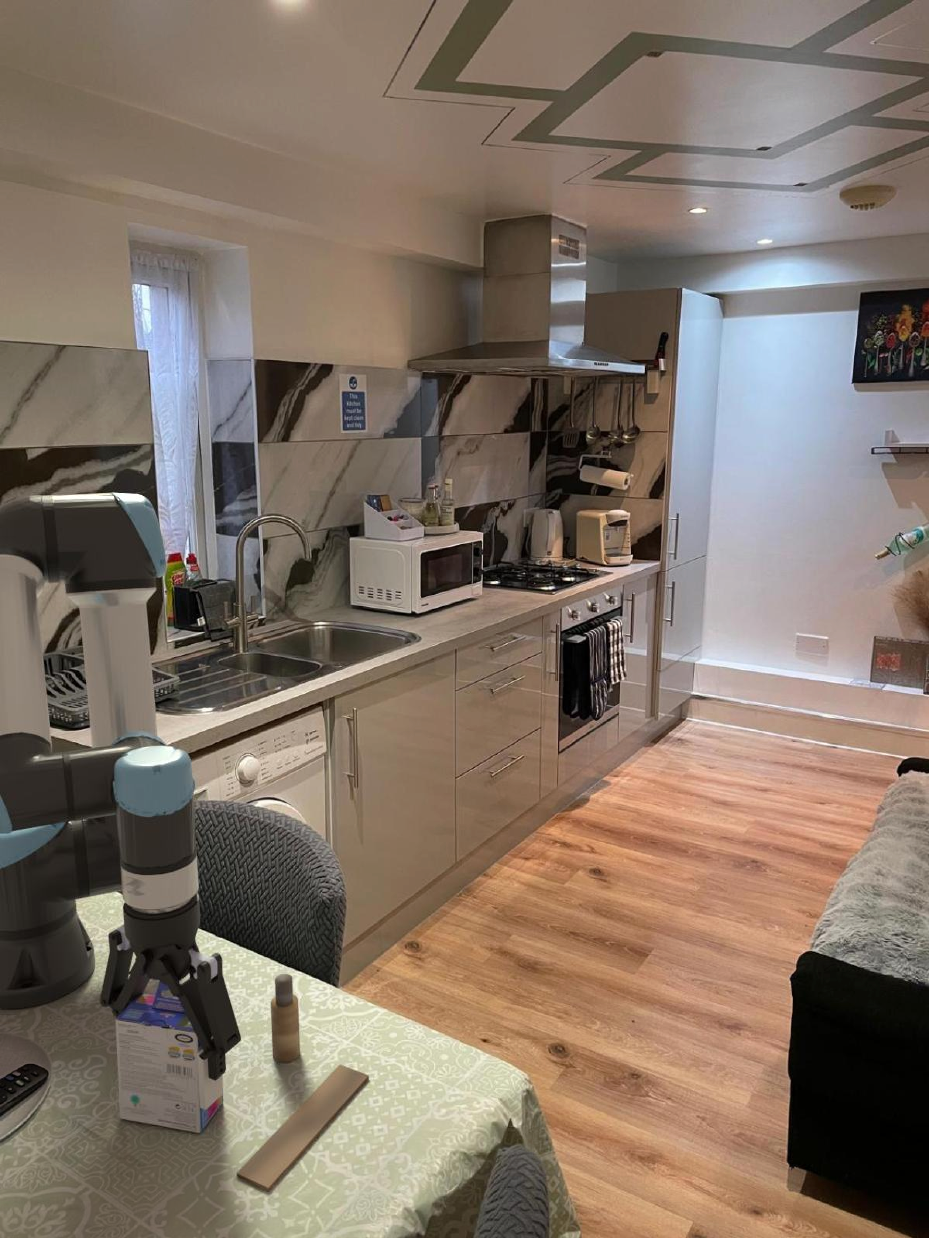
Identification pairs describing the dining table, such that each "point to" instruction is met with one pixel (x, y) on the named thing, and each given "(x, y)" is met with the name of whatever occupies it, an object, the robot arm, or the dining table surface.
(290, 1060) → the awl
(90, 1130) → the dining table surface
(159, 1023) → the ink cartridge box
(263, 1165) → the strip
